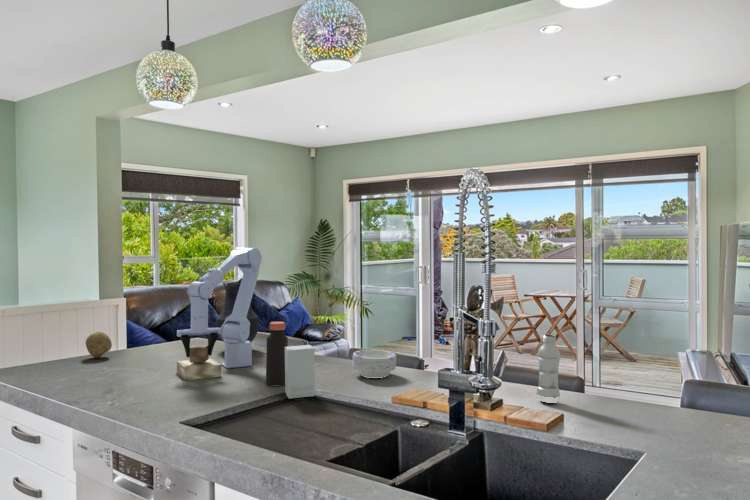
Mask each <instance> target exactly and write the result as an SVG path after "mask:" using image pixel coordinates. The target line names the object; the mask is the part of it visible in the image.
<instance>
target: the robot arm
mask: <svg viewBox="0 0 750 500" xmlns="http://www.w3.org/2000/svg"><path fill="white" fill-rule="evenodd" d="M262 260H263V256H262V253H261V251H260V249H259V248H258V247H239V246H237V247H235V248H233V250H231V251H230V254H229V256H227V258H226V259H225V260H224V261H223V262H222V263H220V264H219V266H218V267H217V268H215V267H212V268H209V269H208V270H207V272H206V273H205V274H204V275H203V276H200V277H199V278H198V280H197V281H192V282H191V283H190V284H189V286H188V287H187V289H186V293H187V295H188V297H189V302H190V328H187V329H177V330H176V336H177V337H178V338H180V340H181V342H182V345H183V347H184V351H185V357H186V358H190V347H191V338H190V336H200V335H201V336H202V335H207V345H209V352H208V355H209V357H210V356H212V354H213V350H214V346H215V344H216V342H217V339H219V335H218V334H220V335H221V337H222V338H223V340H222V342H224V341H225V342H224V361H223V362H220V364H221V366H223V367H225V368H226V369H232V368H233V369H234V368H240V367H241V368H242V367H252V366H253V364H252V363H253V362H252V360H253V359H252V357H253V356H252V353H253V352H252V342H251V343H250V341H246V340H247V339H248V337H249V333H250V322H249V320H248V319H247V318H246V317H247V313H248V310H249V306H251V302H252V299H253V295H254V292H255V288H256V285H257V282H258V281H257V280H258V278H259V273H260V267H261V264H262ZM236 267H238V269H239V270H240V271H241V272H242V277H241V278H242V281H241V284H240V288H239V291H238V294H237V298H236V301H235V305H234V308H233V311H232V314H231V315H230V316H228V317H227V318H226V319H225V322H224V324H223V325H222V326H221V328H216V327H209V298H210V297H211V296H212V294H213V291H214V290H215V288H216V287H218V286H219V285H220V284H221V283H223V281H224V278H225V275H226V274H228V272H230V271H232V270H233V269H234V268H236Z"/></svg>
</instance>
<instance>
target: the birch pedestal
mask: <svg viewBox="0 0 750 500" xmlns="http://www.w3.org/2000/svg"><path fill="white" fill-rule="evenodd" d="M176 374H177V375H179V376H180V377H181V378H182V379H183V381H191V380H198V379H211V378H217V377H222V364H221V362H218V361H217V360H216V359H214V358H212V357H209V359H208V360H207V361H206V362H204V363H190V359H187V360H186V359H185V360H177V361H176Z"/></svg>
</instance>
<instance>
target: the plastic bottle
mask: <svg viewBox="0 0 750 500" xmlns="http://www.w3.org/2000/svg"><path fill="white" fill-rule="evenodd" d="M556 343H557V336H556V335H553V334H543V335H542V344H541V346H540V347H539V348H538V351H537V360H538V370H539V371H538V372H539V374H538V375H539V376H538V386H537V389H536V395H537V394H538V395H540V396H544V397H553V398H556V397H559V396H561V394H560V388H559V366H560V365H559V364H560V359H561V351H560V350H559V348H558V347H557V345H556ZM559 398H560V397H559Z"/></svg>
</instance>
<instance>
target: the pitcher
mask: <svg viewBox="0 0 750 500" xmlns="http://www.w3.org/2000/svg"><path fill="white" fill-rule="evenodd" d="M241 281H242V277H241V278H239V279H238V281H234V282H223V281H222V285H223V286H224V289H225V298H224V299H225V300H224V303H223V304H224V305H223V308H222V310H221V311H220V314H219V315H218V316H217V317H216V319H215V328H221V326H222V325H223V324H224V322H225V319H226V318H227V317H228V316H230V315H231V314H232V311H233V308H234V305H235V301H236V298H237V294H238V291H239V288H240V284H241ZM246 318H247V319H248V320H249V322H250V333H249V337H248V339H247V340H246V341H250V343H251V344H252V342H253V341H254V340H255V338H256V337H257V334H258V332H259V328H260V327H259V323H260V321H259V317H258V315H257V314H256V312H254V310H253V308H252V306H251V305H250V306H249V310H248V313H247V317H246ZM217 335H218V338H219V339H221V340H222V341H223V338H222V337H221V335H220V334H217ZM223 343H225V341H223Z"/></svg>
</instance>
